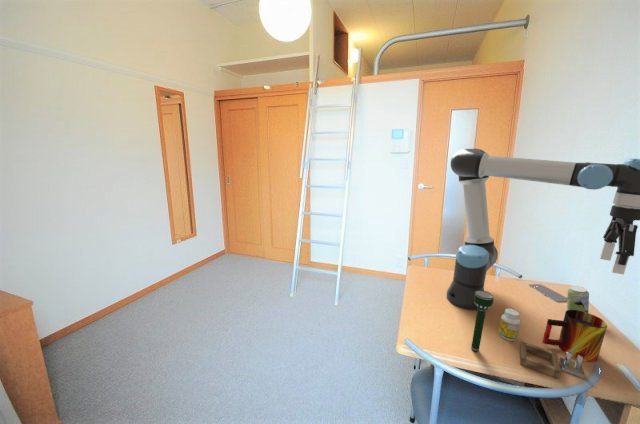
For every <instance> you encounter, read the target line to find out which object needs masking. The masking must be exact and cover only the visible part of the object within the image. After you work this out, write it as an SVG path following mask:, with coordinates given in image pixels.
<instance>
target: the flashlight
mask: <svg viewBox="0 0 640 424" xmlns="http://www.w3.org/2000/svg"><path fill="white" fill-rule="evenodd" d="M474 302H475V304H476V306H477V308H478V309H477V310H476V315H475V321H474V322H475V323H474V328H473V329H474V330H473V335H472V341H471V347H470V348H471V350H472V351H473V352H475V353H477V352H480V346H481V340H482V335H483V328H484V324H485V319H486V311H488V310H489V309H490V308H491V307H492V306H493V304H494V295H493V294H492V293H491V292H489V291H485V290H484V291H482V290H478V291H476V292H475V294H474Z"/></svg>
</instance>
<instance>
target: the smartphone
mask: <svg viewBox="0 0 640 424" xmlns="http://www.w3.org/2000/svg"><path fill="white" fill-rule="evenodd" d="M529 286H530V287H529ZM536 286H538V287H536ZM527 287H529V288H531V287H532V288H534V287H535V288H534V289H536V290H537V291H536V290H535V291H536V292H538V291H539V292H541V293H542V294H541V293H540V294H541V295H543V294H544V295H543V296H545V295H546V296H545V297H546V298H548V297H549V299H550V300H552V301H553V302H556V303H564V302H565V303H567V298H568V296H567V297H566V296H565V295H562V294H561V293H559V292H557V291H555V290H554V289H551V288H549V287H547V286H546V285H543V284H541V283H536V284H535V283H533V284H531V283H530V284H527ZM532 288H531V289H532ZM534 289H533V290H534ZM539 292H538V293H539Z"/></svg>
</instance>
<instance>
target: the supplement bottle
mask: <svg viewBox="0 0 640 424" xmlns="http://www.w3.org/2000/svg"><path fill="white" fill-rule="evenodd" d="M519 317H520V312H519V311H517V310H515V309H512V308H505V310H504V313H503V314H501V317H500V321H499V322H500V324H499V329H498V336H500V337H501V338H503V339H504V340H506V341H510V342H515V341H517V339H518V335H519V329H520V325H521V320H520V318H519Z"/></svg>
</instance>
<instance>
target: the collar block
mask: <svg viewBox="0 0 640 424" xmlns="http://www.w3.org/2000/svg"><path fill="white" fill-rule="evenodd" d="M527 353H528V354H530V355H533V356H536V357H540V358H543V359H545V360H548V361H549V362H550V364H547V363H544V362H542V361H539V360H537V359H534V358H530V357H528V356H527ZM519 365H521V366H522V367H525V368H529V369H531V370H533V371H536V372H538V373H542V374H545V375H547V376H550V377H552V378H555V379H560V376H561V372H562V371H561V367H560V362H559V357H558V353H557V352H555V351H553V350H549V349H546V348H543V347H540V346H537V345H534V344H531V343H528V342H526V341H522V340H521V341H520V345H519Z"/></svg>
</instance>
